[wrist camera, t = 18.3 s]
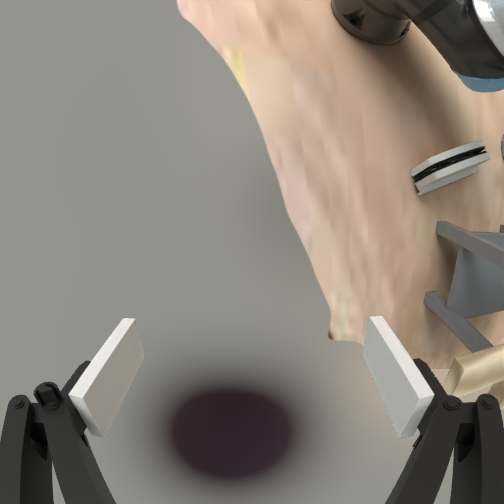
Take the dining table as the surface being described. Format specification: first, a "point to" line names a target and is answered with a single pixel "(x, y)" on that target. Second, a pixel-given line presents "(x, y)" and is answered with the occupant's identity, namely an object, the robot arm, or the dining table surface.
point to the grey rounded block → (449, 166)
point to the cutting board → (477, 373)
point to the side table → (471, 283)
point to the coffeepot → (502, 146)
